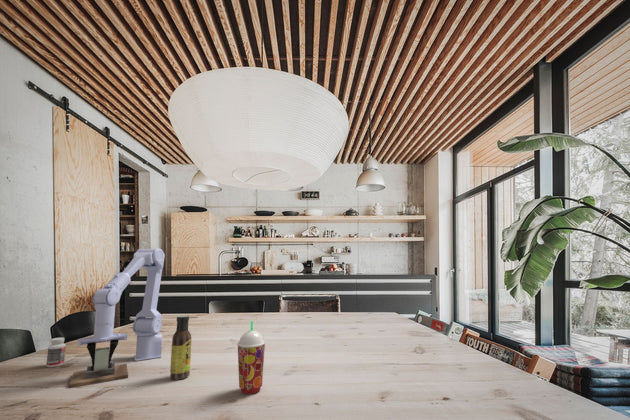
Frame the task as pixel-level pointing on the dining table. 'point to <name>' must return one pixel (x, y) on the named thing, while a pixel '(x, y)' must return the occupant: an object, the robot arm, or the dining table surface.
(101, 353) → the peg
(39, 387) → the dining table surface
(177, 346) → the sauce bottle
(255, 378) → the smoothie
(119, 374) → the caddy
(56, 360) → the pill bottle
